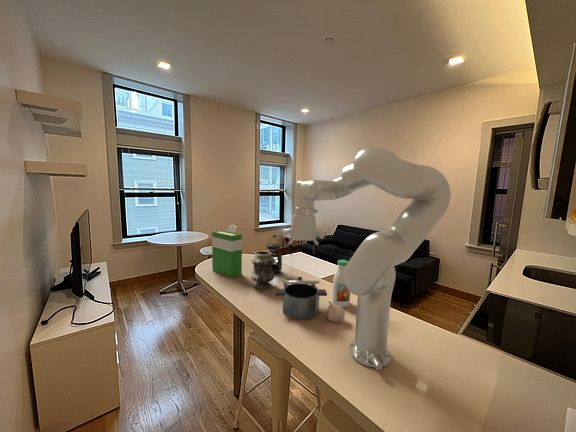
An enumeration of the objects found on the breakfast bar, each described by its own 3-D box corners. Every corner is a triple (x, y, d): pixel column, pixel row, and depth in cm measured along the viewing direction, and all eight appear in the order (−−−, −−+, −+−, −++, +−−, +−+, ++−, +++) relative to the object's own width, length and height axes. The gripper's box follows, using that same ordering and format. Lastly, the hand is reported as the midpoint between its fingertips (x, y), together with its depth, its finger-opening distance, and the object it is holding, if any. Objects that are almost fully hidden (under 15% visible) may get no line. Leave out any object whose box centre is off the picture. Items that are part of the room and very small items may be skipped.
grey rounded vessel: (275, 282, 131) (276, 250, 129) (271, 292, 119) (272, 256, 117) (253, 281, 132) (254, 248, 130) (248, 290, 120) (248, 255, 118)
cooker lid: (322, 285, 94) (322, 277, 95) (284, 284, 93) (284, 277, 94) (315, 283, 110) (315, 276, 110) (282, 283, 109) (282, 276, 109)
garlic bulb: (332, 314, 100) (333, 296, 99) (346, 320, 96) (347, 301, 95) (324, 321, 94) (325, 301, 94) (338, 327, 90) (340, 307, 90)
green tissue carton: (212, 270, 146) (212, 231, 144) (222, 267, 152) (222, 230, 149) (231, 277, 136) (231, 235, 133) (241, 274, 142) (241, 234, 139)
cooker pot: (329, 320, 95) (330, 298, 94) (275, 320, 94) (275, 298, 93) (321, 300, 111) (321, 282, 110) (274, 300, 110) (275, 281, 109)
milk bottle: (329, 305, 108) (332, 261, 105) (334, 298, 114) (337, 257, 112) (346, 309, 104) (349, 264, 102) (351, 302, 111) (353, 260, 108)
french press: (261, 271, 148) (262, 234, 145) (273, 268, 154) (274, 232, 152) (274, 276, 139) (275, 237, 137) (286, 273, 146) (287, 235, 143)
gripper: (323, 211, 100) (321, 251, 103) (282, 210, 99) (281, 251, 101) (327, 213, 93) (325, 256, 95) (283, 212, 92) (281, 256, 94)
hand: (302, 253), depth 98 cm, fingers open, 9 cm apart
